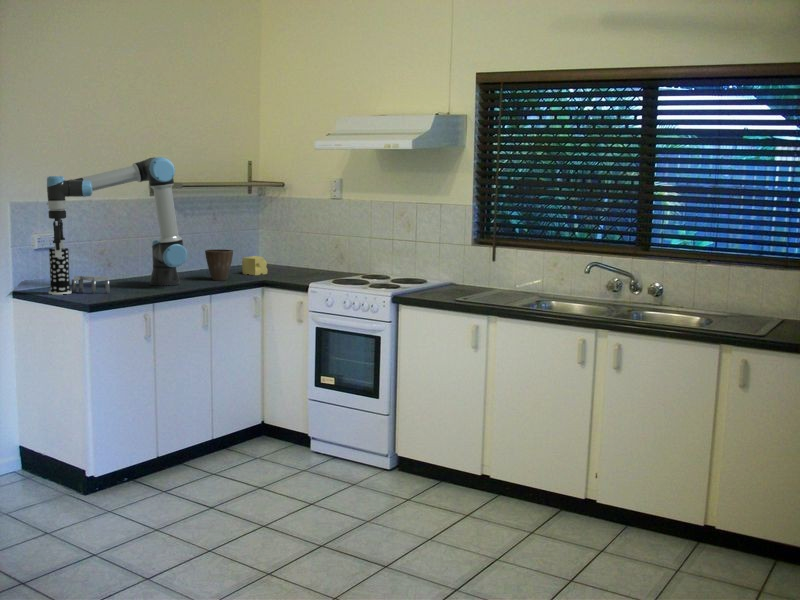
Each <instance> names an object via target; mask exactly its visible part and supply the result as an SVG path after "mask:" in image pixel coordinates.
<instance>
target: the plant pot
mask: <svg viewBox="0 0 800 600" xmlns="http://www.w3.org/2000/svg"><path fill="white" fill-rule="evenodd" d="M204 254H205V259H206V263H207V268H208V271H209V274H210V276H211V279H212V280H213V281H217V282H218V281H220V282H221V281H226V280H227V279H228V277H229V273H230V270H231V267H232V262H233V254H234V250H233V249H223V248H222V249H220V248H219V249H216V248H215V249H205V250H204Z"/></svg>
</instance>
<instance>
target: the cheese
mask: <svg viewBox="0 0 800 600" xmlns="http://www.w3.org/2000/svg"><path fill="white" fill-rule="evenodd" d="M241 262H242V263H241V269H242V275H247V274H249V275H248V276H260V275H268V268H267V266H268V262H267V260H265V258H264V257H263V256H259V255H252V256H246V257H245V256H244V257H242V261H241Z"/></svg>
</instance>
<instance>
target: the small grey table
mask: <svg viewBox="0 0 800 600" xmlns="http://www.w3.org/2000/svg"><path fill="white" fill-rule="evenodd" d="M77 281H78V290H77ZM84 281H91V294H92V293H96V294H97V281H99V282H100V281H104V286H105V287H104V291H105V294H110V293H111V291H110V290H111V286H110V279H108V276H89V275H86V276H85V275H73V278H72V279H71V291H72V292H73V294H76V293H75V292H78V293H79V292H83V293H84Z"/></svg>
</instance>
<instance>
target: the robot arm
mask: <svg viewBox="0 0 800 600" xmlns="http://www.w3.org/2000/svg"><path fill="white" fill-rule="evenodd" d="M175 172H176V169H175V166H174V163H173V162H172V161H171V160H169V159H168V158H165V157H162V156H158V157H153V156H152V157H150V158H146V159H144V160H142V161H137V162H135V163H132V165H130V166H125V167H122V168H117V169H113V170H108V171H103V172H100V173H95V174H91V175H87V176H82V177H79V178H73V179H72V178H71V179H67V180H66V179H65V177H64V176H61V175H59V176H58V175H57V176H56V175H55V176H54V175H51V176H50V175H48V176H47V178H46V192H47V202H46V205H47V208H48V219H52V220H53V219H54V221H53V222H52V226H53V227H52V228H53V241H52V244H54V248H55V257H62V252H61V248H65V246H64V245H65V243H64V242H65V240H66V238H65V237H64V222H63V220H62V219H66V218H67V211H66V209H67V205H66V197H67V198H69V197H73V198H74V197H83V198H86V197H91V196H92V195H93V192H96V191H99V190H103V189H107V188H111V187H112V188H113V187H116V186H121V185H124V184H128V183H133V182H138V183H142V182H149V184H148V185H149V187H150V188H151V189H152V190H153V194H154V202H155V207H156V214H157V220H158V227H159V232H160V233H159V234H160V238H159V239H154V240H152V244H151V248H152V251H151V252H152V271H151V274H150V277H149V285H151V286H157V285H158V286H159V287H160V286H161V287H162V286H163V285H164V286H166V285H167V287H168V285H170V286H177V285H181V280H180V276H179V273H178V271H177V268H179V267H181V266H182V265H184V264H185V263H186V261H187V259H188V251H187V249H186V247H184V242H183V240H184V239H183V237H181V236H180V235H179V227H178V222H177V217H176V210H175V202H174V195H173V189H172V188H173V186H174V184H175V181H174V176H175Z"/></svg>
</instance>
